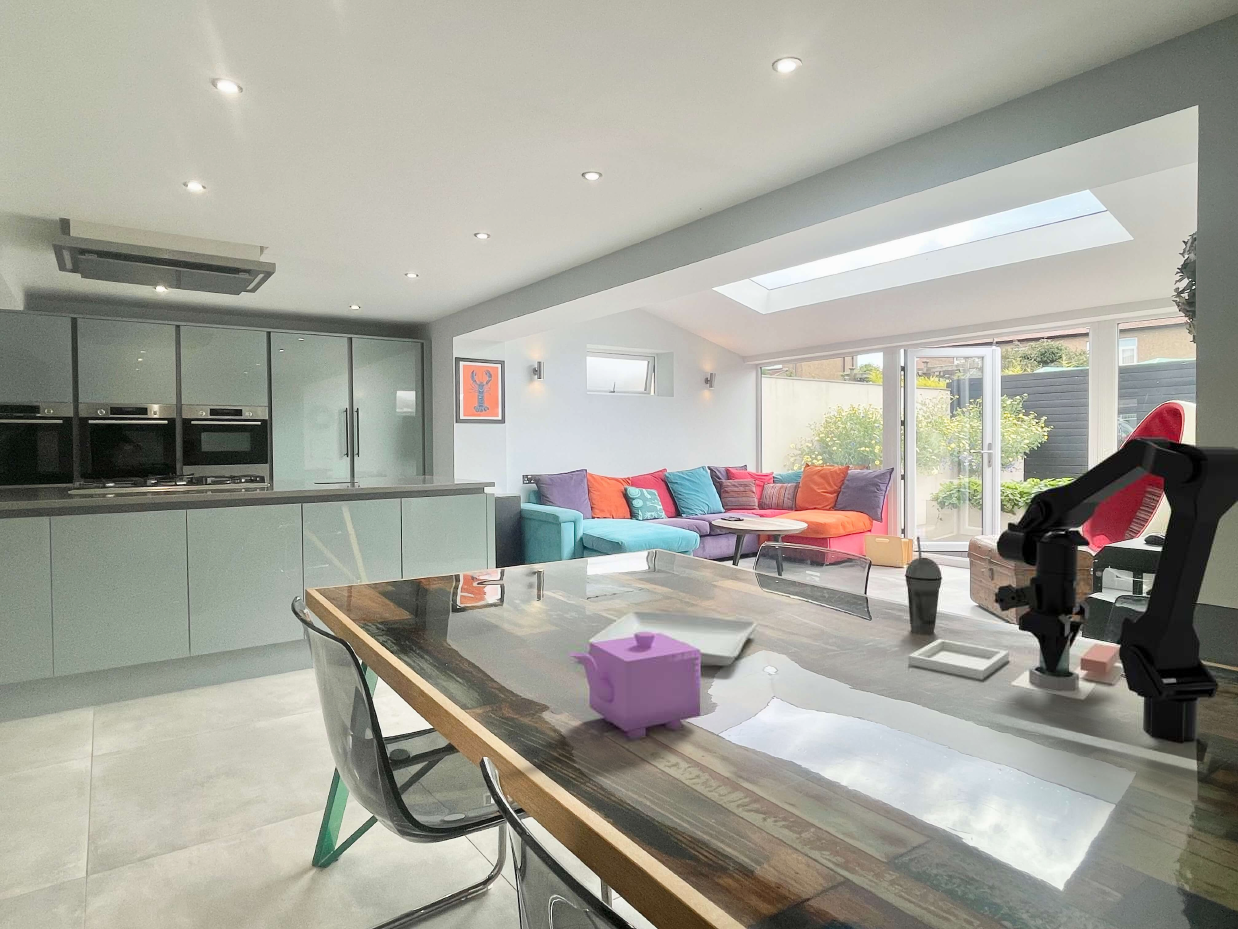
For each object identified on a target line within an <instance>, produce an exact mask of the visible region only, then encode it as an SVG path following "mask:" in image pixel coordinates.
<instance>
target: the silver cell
mask: <svg viewBox="0 0 1238 929" xmlns="http://www.w3.org/2000/svg"><path fill="white" fill-rule="evenodd" d="M1069 631H1070V630H1069ZM1070 649H1071V648H1070V640H1069V643H1068V645H1067V647H1066V649H1065V651H1064V653H1063V655H1062V658H1061V660H1060V662H1059V664H1058V666H1057V668H1056V670H1055V672H1048V671H1047V670H1046V667H1045V663H1044V659H1043V656H1042V652H1041V648H1040V647H1039V662H1038V663H1039V664H1038V666H1039V673H1041V674H1045V675H1050V676H1055V677H1069V670H1070V653H1071V652H1070V651H1071V650H1070Z"/></svg>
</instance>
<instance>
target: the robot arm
mask: <svg viewBox="0 0 1238 929" xmlns="http://www.w3.org/2000/svg"><path fill="white" fill-rule="evenodd" d="M1148 474H1150V475H1153V476H1156V477H1158V478H1159V477H1160V478H1162V479H1163V480H1162V481H1163V482H1162V490H1163V493H1164V495H1165V497H1166V501H1167V503H1168V505H1169V508H1170V513H1169V517H1168V518H1169V519H1168V522H1167V527H1166V530H1165V534H1164V538H1163V542H1162V546H1161V550H1160V554H1159V558H1158V561H1157V566H1156V570H1155V574H1154V577H1153V582H1152V584H1151V585H1152V586H1151V588H1150V589H1151V590H1150V593H1149V596H1148V601H1147V606H1146V609H1145V610H1144V612H1143V613H1142V614H1141V615H1140V616H1130V617H1129V616H1127V617H1124V619H1123V621H1122V623H1121V633H1120V635H1119V638H1118V640H1117V641H1116V646H1117V645H1119V647H1118V648H1119V660H1120V663H1121V664H1122V666H1123V670H1124V671H1123V673H1124V676H1125V681H1126V684H1127V688H1128V690H1129V691H1131V692H1132V693H1136V696H1138V697H1141V698H1143V715H1142V716H1143V717H1142V730H1143V731H1144V732H1145V733H1147V734H1149V735H1150V737H1151V738H1155V739H1159V740H1164V741H1167V742H1168V741H1169V742H1172V743H1177V744H1182V745H1183V744H1184V743H1193V742H1196V741H1197V740H1198V710H1199V705H1198V704H1199V699H1204V698H1206V699H1207V698H1208V699H1213V698H1215V696H1216V693H1217V691H1218V689H1219V686H1220V685H1219V683H1218V681H1217V680H1216V679H1215V678H1214V676H1213V675H1212V673H1211V672H1210V671H1209V670H1208V668H1207V667H1206V665H1205V664H1204V663H1203V662H1202V660H1201V659H1200V658H1199V657H1200V656H1199V655H1200V647H1201V646H1200V644H1201V642H1200V639H1199V636H1198V634H1197V632H1196V629H1195V627H1194V624H1193V618H1194V614H1195V610H1196V607H1197V603H1198V599H1199V596H1200V593H1201V588H1202V584H1203V581H1204V577H1205V573H1206V570H1207V567H1208V564H1209V559H1210V555H1211V552H1212V549H1213V544H1214V541H1215V538H1216V537H1215V536H1216V534H1217V530H1218V526H1219V522H1220V520H1221V518H1222V517H1223V516H1224V515H1225V514H1226V513H1227V512H1228V511H1229V510H1230V509H1231V508H1232V507H1233V506H1234V505H1236V503H1237V502H1238V448H1236V447H1234V446H1229V445H1228V446H1227V445H1226V446H1224V445H1223V446H1222V445H1221V446H1219V445H1217V446H1216V445H1213V446H1211V445H1208V446H1207V445H1195V444H1188V443H1182V442H1178V441H1174V440H1171V439H1167V438H1165V437H1157V436H1155V437H1154V436H1153V437H1152V436H1151V437H1149V436H1146V437H1145V436H1143V437H1141V436H1137V437H1133V438H1131V439H1128V441H1126V442H1125V443H1124V445H1123V446H1122V447H1121V448H1119V449H1118V450H1117V451H1115V452H1114V453H1112V454H1110V456H1108V457H1106V458H1105V459H1104V460H1102V461H1100V462H1099V463H1097V464H1096V465H1095V466H1093V467H1092V468H1090V469H1088V470H1087V471H1086V472H1085V473H1083V474H1082V475H1080V476H1078V478H1076V479H1074V480H1073V481H1071V482H1068V483H1065V484H1061V485H1057V486H1054V487H1050V488H1047V489H1045V490H1043V491H1040V492H1038V493H1035V495H1033V496H1032V498H1031V499H1030V501H1029V505H1028V507H1027V508H1026V510H1025V511H1024V513H1023V515H1022V516H1021V518H1020V520H1019V521H1018V522H1015V521H1014V522H1010V521H1009V522H1008V523H1007V529H1005V530H1004V531H1003V532H1002V533H1001V534H1000V535H999V537H998V540H997V542H996V550H997V553H998V555H999V557H1001V558H1002V559H1003V560H1005V561H1008V562H1012V563H1017V564H1022V565H1025V566H1032V567H1035V575H1034V576H1032V577H1031V578H1030V579H1029V583H1027V584H1022V585H1017V586H1013V585H1012V584H1011V583H1009V584H1006V585H1000V586H998V588H997V591H995V592H994V597H995V598H994V603H995V604H998V607H999V609H1000V611H1001V612H1008V611H1010V609H1016V608H1022V607H1027V606H1028V611H1026V612H1024V613H1023V614H1022V615H1020V616H1019V617H1018V630H1019V631H1023V632H1028V633H1030V634H1032V635H1033V636H1034V637H1035V638H1036V639H1037V642H1038V644H1039V649H1040V648H1041V652H1042V656H1043V659H1044V663H1045V667H1046V670H1047V671H1048V672H1055V670H1056V668H1057V666H1058V664H1059V662H1060V660H1061V658H1062V655H1063V653H1064V651H1065V649H1066V647H1067V645H1068V643H1069V640H1070V649H1071V648H1072V646H1073V644H1074V643H1075V641H1076V639H1077V637H1078V634H1079V633H1080V631H1081V629H1082V627H1083V626H1084V622H1082V621H1078V620H1077V621H1076V620H1074V616H1080V618H1081V620H1087V619H1088V618H1089V616H1090V605H1089V604H1088V603H1087V602H1086V601H1085V600H1084V599H1082V598H1078V586H1080V585H1081V577H1078V568H1079V566H1078V565H1079V564H1078V562H1079V561H1078V560H1079V547H1089V546H1091V543H1090V541H1089V540H1088V539H1087V538H1086V537H1085V536H1083V534H1082V533H1081V531H1080V530H1078V528H1081V527H1082V526H1084V525H1085V524H1086V523H1087V522H1089V520H1090V519H1091V518H1092V517H1094V515H1095V513H1096V510H1097V507H1098V506H1099V505H1100V504H1101V503H1102V502H1105V501H1106V500H1107V499H1109V498H1111V497H1112V496H1114V495H1115V494H1117V493H1119V492H1121V491H1122V490H1124V489H1125V488H1126V487H1128V486H1131V485H1132V484H1134V483H1135V482H1137V481H1138V480H1140V479H1141V478H1143V477H1145V476H1147V475H1148ZM1072 615H1073V616H1072ZM1069 630H1070V631H1069ZM1171 679H1172V680H1173V679H1174V680H1175V682H1173V681H1172V682H1165V681H1164V680H1171Z"/></svg>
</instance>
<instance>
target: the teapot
mask: <svg viewBox="0 0 1238 929" xmlns="http://www.w3.org/2000/svg"><path fill="white" fill-rule="evenodd" d="M634 636H635V637H628V638H621V639H614V640H608V641H601V642H594V643H591V644H590V643H589V653H585V652H577V653H571V654H570V655H569V657H571V658H574V659H577V660H578V661H579V662H581V664H582V666H583V668H584V671H585V676H586V679H587V683H588V686H589V709H592V710H593V711H594V712H596V713H597V714H599V715H600V716H601V717H603V718H604V720H605V721H607V722H608V723H612V724H613V725H614V726H616V727H618V728H619V729H620V730H622V731H624V732H626V733H627V737H629V738H633V739H641V738H645V737H646V735H647V734H646V733H647V728H650V727H655V726H658V725H663V724H664V725H665V728H668V729H670V730H680V729H683V728H684V724H683V723H682V720H686V719H691V718H696V717H699V716H701V666H700V662H701V651H700V649H697V648H695V647H693V646H690V645H689V644H687V643H685V642H681V641H678V640H676V639H674V638H671V637H669V636H666V635H664V634H661V633H656V634H654V633H651V632H637V633H635V634H634Z"/></svg>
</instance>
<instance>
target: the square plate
mask: <svg viewBox="0 0 1238 929" xmlns="http://www.w3.org/2000/svg"><path fill="white" fill-rule="evenodd" d="M757 627H758V623H757V622H756V621H747V620H739V619H738V620H737V619H731V618H723V617H722V618H721V617H713V616H704V615H696V614H687V613H686V614H684V613H672V612H671V613H670V612H656V611H655V612H652V611H651V612H650V611H638V610H637V611H635V610H634V611H630V612H628V613H627V614H625V615H624V616H621V617H620V618H619V619H617V620H616V621H614V622H613V623H611V624H610V625H608V626H607V627H606V628H604V629H603V630H600V632H598V633H597V634H596V635H594V636H593V637H592V638H590V639H589V640H588V641H587V644H588V643H589V645H590V644H591V643H594V642H601V641H608V640H614V639H621V638H628V637H635V636H634V634H635V633H637V632H651V633H654V634H656V633H661V634H664V635H666V636H669V637H671V638H674V639H676V640H678V641H681V642H685V643H687V644H689V645H690V646H693V647H695V648H697V649H700V651H701V662H700V667H701V666H702V667H703V666H704V667H706V666H707V667H708V666H709V667H711V666H713V667H714V666H717V667H718V666H719V667H725V666H728V665H731V664H732V663H733V661H735V659H736V658H737V657H738V656H739V654H740V653H741V650H742V649H743V646H744V644H745V643H746V642H747V640H748V639H749V638H750V637H751V635H752V634H753V633H754V632H755V630H756V629H757Z"/></svg>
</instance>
